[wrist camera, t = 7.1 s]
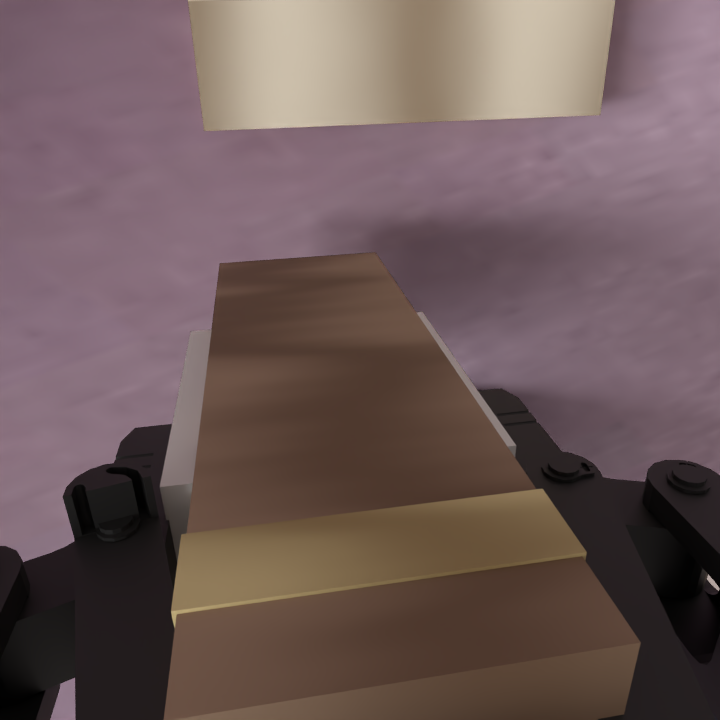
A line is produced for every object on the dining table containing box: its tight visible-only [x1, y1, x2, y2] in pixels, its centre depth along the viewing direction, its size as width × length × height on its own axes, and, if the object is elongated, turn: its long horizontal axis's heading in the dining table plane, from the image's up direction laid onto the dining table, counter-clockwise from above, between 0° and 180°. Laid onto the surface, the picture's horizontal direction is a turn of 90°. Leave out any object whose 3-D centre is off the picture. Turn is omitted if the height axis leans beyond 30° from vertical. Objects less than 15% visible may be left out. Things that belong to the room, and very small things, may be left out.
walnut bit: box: [164, 252, 641, 720], centre depth 13 cm, size 5×5×14 cm
